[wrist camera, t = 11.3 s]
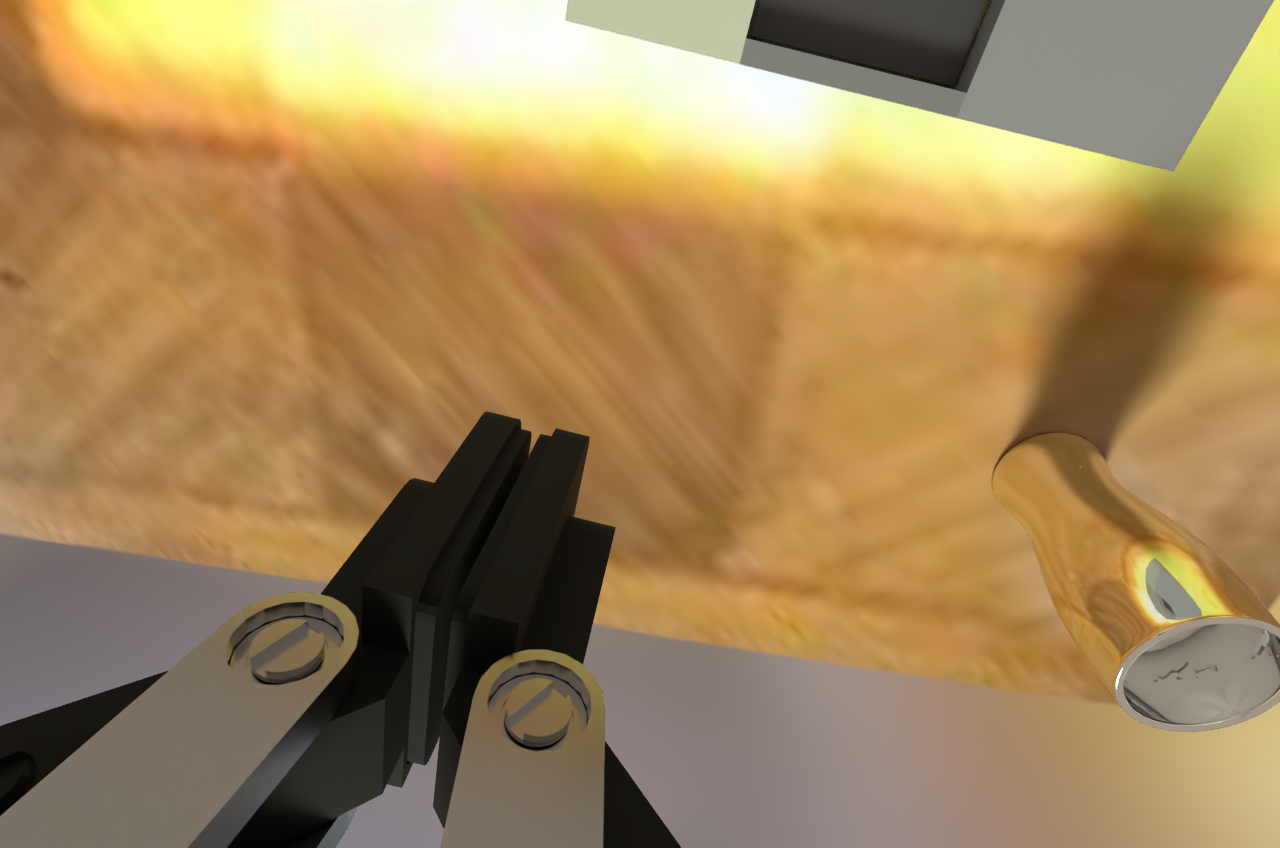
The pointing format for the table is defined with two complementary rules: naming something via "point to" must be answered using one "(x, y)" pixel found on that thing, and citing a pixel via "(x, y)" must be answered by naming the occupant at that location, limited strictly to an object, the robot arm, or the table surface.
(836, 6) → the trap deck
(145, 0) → the table surface
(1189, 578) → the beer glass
